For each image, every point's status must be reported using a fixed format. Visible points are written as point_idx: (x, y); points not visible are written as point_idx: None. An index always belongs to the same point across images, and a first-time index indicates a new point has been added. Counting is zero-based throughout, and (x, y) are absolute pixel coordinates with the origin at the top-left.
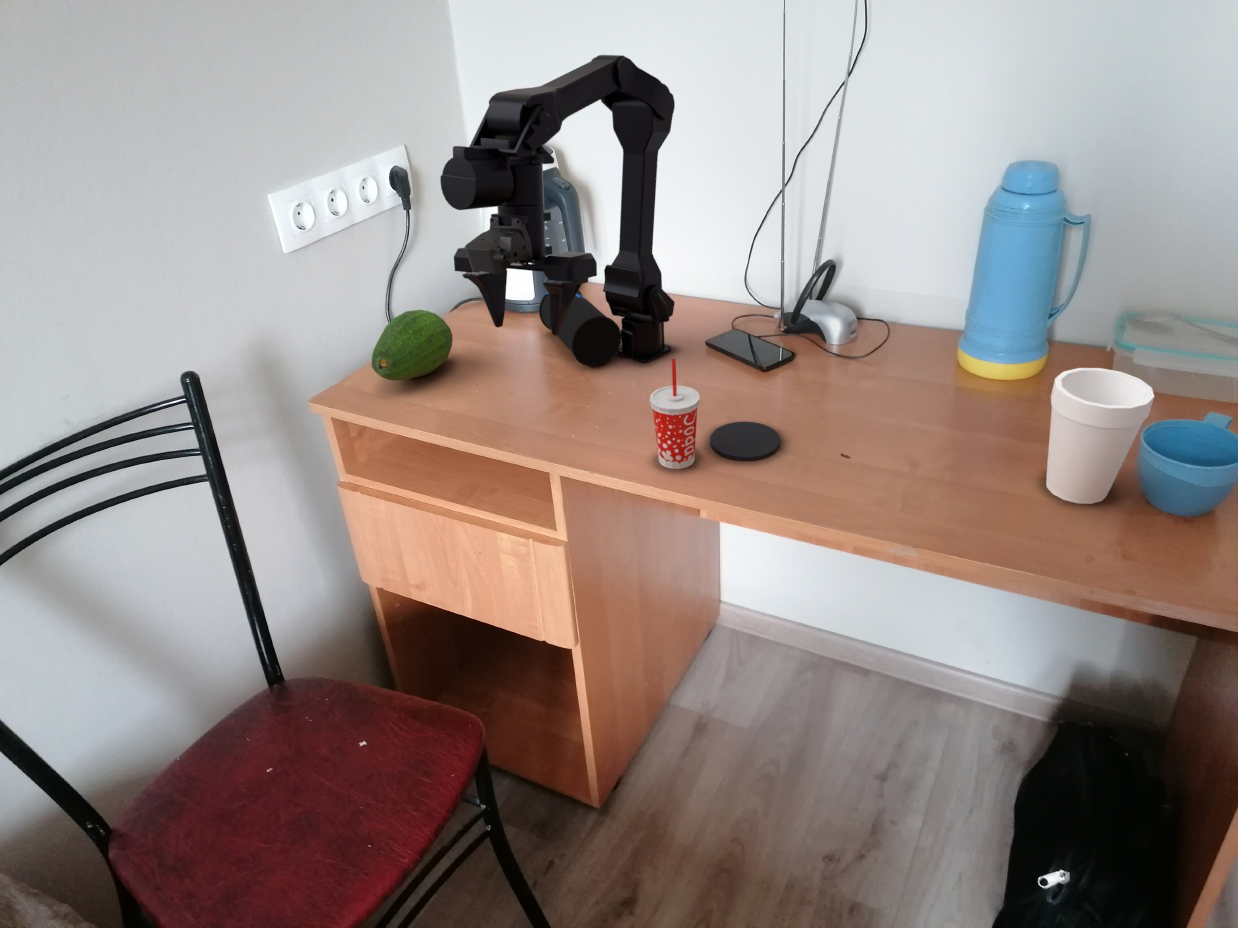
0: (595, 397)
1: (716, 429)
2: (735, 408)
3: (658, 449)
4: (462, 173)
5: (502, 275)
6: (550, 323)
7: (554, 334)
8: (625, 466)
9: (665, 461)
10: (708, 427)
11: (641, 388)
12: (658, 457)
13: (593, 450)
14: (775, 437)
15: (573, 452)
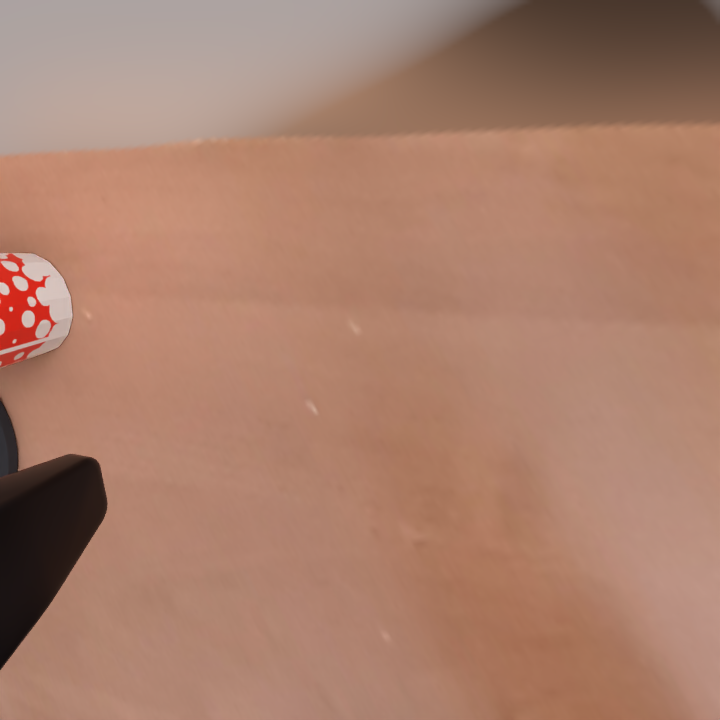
0: (416, 596)
1: (6, 467)
2: None
3: (18, 271)
4: None
5: None
6: (14, 502)
7: (68, 454)
8: (122, 215)
9: (15, 253)
10: None
11: (304, 673)
12: (50, 276)
13: (247, 264)
14: None
15: (298, 226)
